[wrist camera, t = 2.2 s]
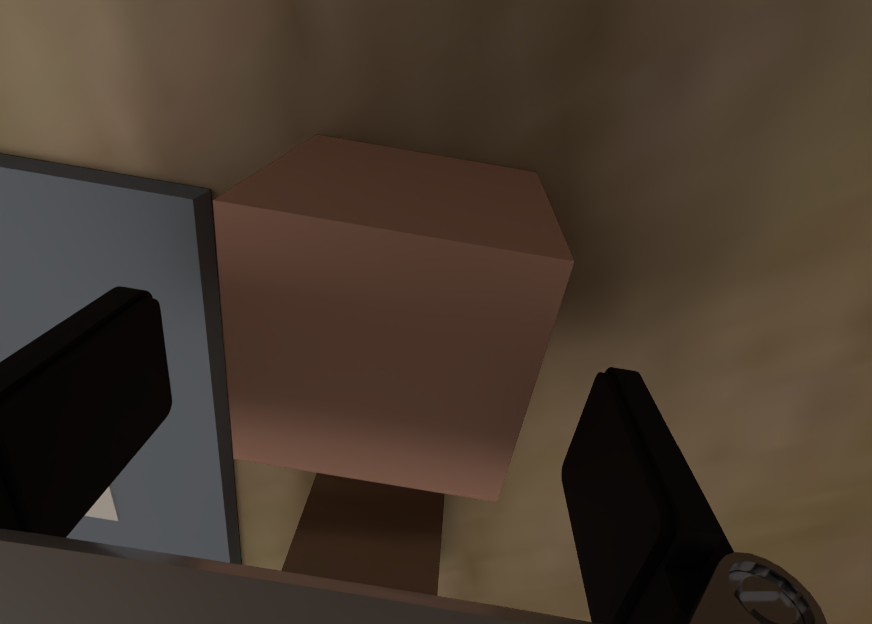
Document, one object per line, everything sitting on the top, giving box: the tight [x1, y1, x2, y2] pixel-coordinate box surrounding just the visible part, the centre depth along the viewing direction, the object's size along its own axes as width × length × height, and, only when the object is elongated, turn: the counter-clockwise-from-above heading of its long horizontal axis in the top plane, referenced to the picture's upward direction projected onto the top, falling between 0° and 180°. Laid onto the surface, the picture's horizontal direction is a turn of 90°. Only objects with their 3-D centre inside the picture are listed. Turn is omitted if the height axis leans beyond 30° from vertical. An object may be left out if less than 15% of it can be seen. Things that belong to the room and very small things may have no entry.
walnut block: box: [282, 473, 444, 596], centre depth 18 cm, size 5×5×6 cm
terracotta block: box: [213, 134, 574, 502], centre depth 12 cm, size 6×6×6 cm
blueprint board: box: [0, 154, 241, 565], centre depth 19 cm, size 22×16×1 cm
